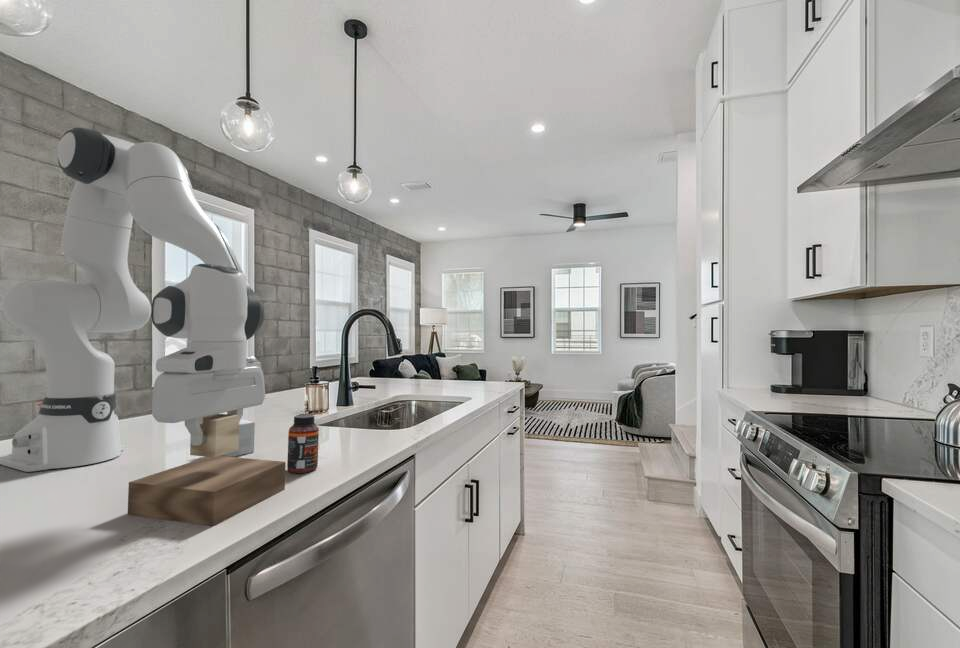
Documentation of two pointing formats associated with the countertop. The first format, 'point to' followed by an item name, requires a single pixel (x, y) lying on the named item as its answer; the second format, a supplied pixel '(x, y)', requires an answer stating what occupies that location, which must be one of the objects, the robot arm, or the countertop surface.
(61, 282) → the robot arm
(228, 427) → the maple block
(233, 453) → the product box
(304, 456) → the supplement bottle
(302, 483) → the countertop surface
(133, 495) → the walnut base
